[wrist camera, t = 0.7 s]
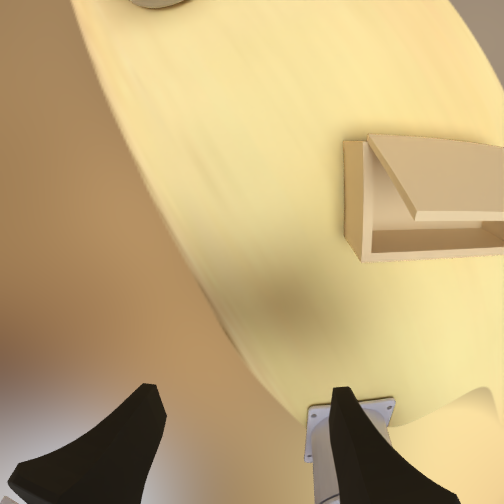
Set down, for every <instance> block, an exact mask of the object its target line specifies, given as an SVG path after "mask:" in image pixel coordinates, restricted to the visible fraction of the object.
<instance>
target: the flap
mask: <svg viewBox="0 0 504 504" xmlns="http://www.w3.org/2000/svg"><path fill="white" fill-rule="evenodd" d="M367 142H368V144H369V145H370V147H371V148H372V150H373V152H374V153H375V155H376V156H377V158H378V159H379V161H380V163H381V164H382V166H383V167H384V169H385V171H386V172H387V174H388V176H389V177H390V179H391V181H392V182H393V184H394V186H395V187H396V189H397V191H398V193H399V194H400V196H401V198H402V200H403V201H404V203H405V205H406V207H407V209H408V210H409V212H410V214H411V216H412V218H413V220H414V221H504V147H499V146H493V145H487V144H480V143H473V142H465V141H457V140H448V139H439V138H428V137H416V136H402V135H384V134H368V136H367Z"/></svg>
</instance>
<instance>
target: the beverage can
mask: <svg viewBox="0 0 504 504" xmlns="http://www.w3.org/2000/svg"><path fill="white" fill-rule="evenodd" d="M129 1H131V2H132V3H134V4H136V5H138V6H142V7H146V8H160V7H166V6H170V5H173V4H176V3H179V2H181V1H183V0H129Z"/></svg>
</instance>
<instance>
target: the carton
mask: <svg viewBox="0 0 504 504" xmlns="http://www.w3.org/2000/svg"><path fill="white" fill-rule="evenodd" d="M343 153H344V237H345V238H346V240H347V242H348V243H349V245H350V246H351V248H352V249H353V251H354V252H355V254H356V255H357V257H358V259H359V260H360V262H361V263H371V262H391V261H410V260H428V259H445V258H462V257H478V256H493V255H504V221H414V220H413V218H412V216H411V214H410V212H409V210H408V209H407V207H406V205H405V203H404V201H403V200H402V198H401V196H400V194H399V193H398V191H397V189H396V187H395V186H394V184H393V182H392V181H391V179H390V177H389V176H388V174H387V172H386V171H385V169H384V167H383V166H382V164H381V163H380V161H379V159H378V158H377V156H376V155H375V153H374V152H373V150H372V148H371V147H370V145H369V144H368V142H367V141H343Z"/></svg>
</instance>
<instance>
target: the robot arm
mask: <svg viewBox="0 0 504 504" xmlns="http://www.w3.org/2000/svg"><path fill="white" fill-rule="evenodd" d="M395 403H396V401H395V399H394V398H386V399H379V400H372V401H364V402H358V401H357V399H356V397H355V396H354V394H353V392H352V390H351V388H350V387H336V388H333V393H332V400H331V405H320V406H312V407H310V408H309V409H308V421H307V434H306V444H305V455H304V461H305V462H307V463H312V462H313V474H314V496H315V504H461V503H460V501H459V499H458V497H457V495H456V494H454V493H452V492H450V491H449V490H447V489H445V488H443V487H441V486H440V485H438V484H436V483H435V482H433V481H432V480H430V479H429V478H427V477H426V476H425V475H423V474H422V473H421V472H419V471H418V470H417V469H416V468H414V467H413V466H412V465H411V464H409V463H408V462H407V461H406V460H405V459H404V458H403V457H402V456H401V455H400V454H399V453H398V452H397V451H395V449H393V447H392V444H391V441H390V437H389V434H388V430H387V427H388V424H389V421H390V418H391V415H392V412H393V409H394V406H395ZM313 414H314V415H313ZM166 417H167V415H166V412H165V410H164V407H163V404H162V401H161V398H160V396H159V392H158V389H157V386H156V385H154V384H146V383H143V384H142V385H141V386H140V387H138V389H136V390H135V391H134V392H133V393H132V394H131V395H130V396H129V397H128V398H127V399H126V400H125V401H124V402H123V403H122V404H121V405H120V406H119V407H118V408H117V409H115V410H114V411H113V412H112V413H111V414H110V415H109V416H107V417H106V418H105V419H104V420H103V421H101V422H100V423H99V424H98V425H97V426H96V427H94V428H93V429H91V430H90V431H88V432H87V433H86V434H84V435H83V436H81V437H79V438H78V439H76V440H75V441H73V442H71V443H69V444H67V445H66V446H64V447H62V448H60V449H58V450H56V451H53V452H51V453H49V454H46V455H44V456H41V457H38V458H35V459H32V460H28V461H25V462H21V463H19V464H18V465H17V467H16V468H15V470H14V472H13V473H12V475H11V476H10V478H9V480H8V485H9V487H10V488H11V489H12V490H13V491H14V492H15V493H16V494H18V496H19V497H20V498H22V499H23V500H24V501H25V502H26V503H27V504H141V499H142V494H143V490H144V485H145V481H146V479H147V475H148V473H149V470H150V467H151V465H152V462H153V459H154V457H155V454H156V452H157V449H158V446H159V444H160V441H161V438H162V435H163V431H164V427H165V422H166ZM0 504H18V503H17V502H15V501H13V500H12V499H10V498H8V497H7V496H4V498H3V499H2V501H1V503H0Z"/></svg>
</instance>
